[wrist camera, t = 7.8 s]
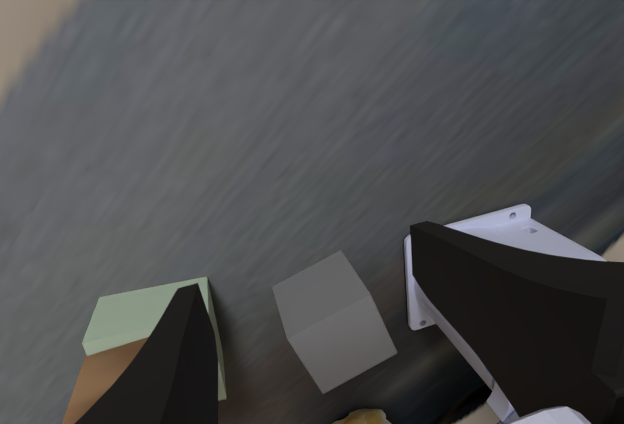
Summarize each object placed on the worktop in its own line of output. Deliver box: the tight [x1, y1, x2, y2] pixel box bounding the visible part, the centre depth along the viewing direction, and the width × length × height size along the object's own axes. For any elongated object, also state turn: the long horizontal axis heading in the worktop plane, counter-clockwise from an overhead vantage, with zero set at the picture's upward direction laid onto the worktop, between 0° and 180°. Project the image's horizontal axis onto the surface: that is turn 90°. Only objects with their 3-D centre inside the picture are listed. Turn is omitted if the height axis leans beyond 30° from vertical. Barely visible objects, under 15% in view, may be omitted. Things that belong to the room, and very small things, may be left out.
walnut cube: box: [62, 337, 149, 424], centre depth 19 cm, size 5×5×5 cm
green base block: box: [82, 277, 227, 401], centre depth 23 cm, size 6×6×4 cm
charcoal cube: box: [272, 250, 397, 394], centre depth 24 cm, size 5×5×5 cm
